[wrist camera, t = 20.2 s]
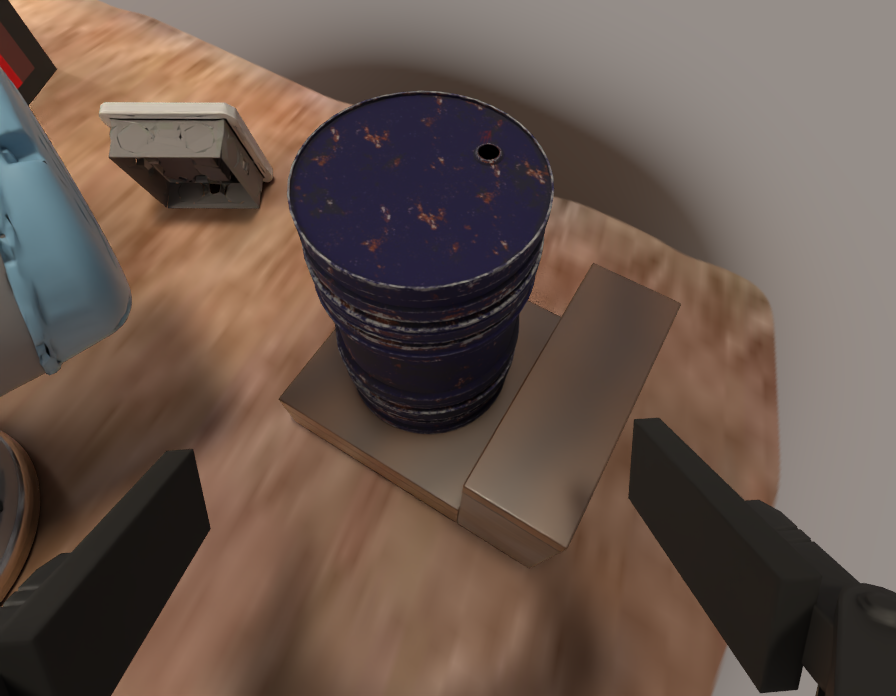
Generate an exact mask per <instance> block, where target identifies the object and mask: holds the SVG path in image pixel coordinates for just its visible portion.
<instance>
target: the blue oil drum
mask: <svg viewBox="0 0 896 696" xmlns="http://www.w3.org/2000/svg"><path fill="white" fill-rule="evenodd" d="M553 194H554V184H553V175H552V171H551V167H550V164H549V161H548V159H547V157H546V155H545V153H544V151H543V149H542V147H541V146H540V144H539V143H538V142H537V140H536V139H535V138H534V136H533V135H532V134H531V133H530V132H529V131H528V130H527V129H526V128H525V127H524V126H523V125H522V124H521V123H519V122H518V121H517V120H515V119H514V118H512V117H511V116H510V115H508V114H507V113H505V112H503V111H501V110H499V109H497V108H496V107H494V106H492V105H489V104H487V103H484V102H481V101H479V100H476V99H473V98H469V97H465V96H462V95H458V94H452V93H445V92H435V91H412V92H399V93H393V94H388V95H382V96H379V97H375V98H372V99H369V100H365V101H363V102H360V103H358V104H355V105H353V106H350V107H348V108H346V109H345V110H343V111H341V112H339V113H337V114H336V115H334V116H332V117H331V118H330V119H328V120H327V121H326V122H324V123H323V124H322V125H320V126H319V127H318V128H317V129H316V130H315V131H314V132H313V133H312V134H311V135H310V136H309V137H308V139H307V140H306V141H305V143H304V144H303V145H302V147H301V148H300V150H299V151H298V153H297V155H296V157H295V159H294V161H293V164H292V166H291V170H290V174H289V178H288V189H287V198H288V203H289V209H290V213H291V216H292V218H293V221H294V224H295V226H296V229H297V231H298V234H299V236H300V240H301V242H302V247H303V253H304V259H305V261H306V264H307V267H308V269H309V272H310V274H311V277H312V279H313V282H314V284H315V289H316V292H317V294H318V297H319V299H320V302H321V304H322V306H323V307H324V309H325V310H326V312H327V313H328V315H329V316H330V318H331V319H332V320H333V321H334V323H335V330H336V340H337V345H338V350H339V352H340V355H341V357H342V360H343V362H344V363H345V365H346V368H347V370H348V373H349V375H350V377H351V379H352V381H353V382H354V384H355V385H356V388H357V390H358V393H359V395H360V396H361V398H362V400H363V401H364V403H365V404H366V405H367V406H368V408H369V409H370V410H371V411H372V412H373V413H374V414H375V415H377V416H378V417H379V418H380V419H382V420H383V421H385V422H386V423H388V424H390V425H392V426H394V427H396V428H399V429H402V430H404V431H408V432H413V433H419V434H437V433H445V432H449V431H453V430H457V429H459V428H461V427H464V426H466V425H468V424H470V423H471V422H473V421H475V420H476V419H478V418H479V417H480V416H482V415H483V414H484V413H485V412H486V411H487V410H488V409H489V408H490V407H491V406H492V404H493V403H494V402H495V401H496V399H497V397H498V395H499V394H500V392H501V390H502V387H503V384H504V382H505V379H506V376H507V374H508V372H509V369H510V366H511V363H512V361H513V357H514V353H515V348H516V344H517V339H518V334H519V314H520V312H521V311H522V309H523V307H524V306H525V304H526V302H527V301H528V299H529V296H530V294H531V291H532V288H533V285H534V280H535V275H536V272H537V269H538V266H539V262H540V258H541V255H542V249H543V243H544V233H545V228H546V225H547V222H548V219H549V215H550V211H551V208H552V201H553Z"/></svg>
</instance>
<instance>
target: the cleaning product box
mask: <svg viewBox="0 0 896 696" xmlns="http://www.w3.org/2000/svg"><path fill="white" fill-rule="evenodd" d="M0 67H1V68H2V70H3V71H4V72H5V73H6V75H7V76H8V78H9V79H10V80H11V81H12V82H13V84H14V85H15V87H16V88H17V90H18V91H19V93H20V94H21V95H22V97H23V98H24V100H25V102H26V103H27V105H29V104H30V102H31V101H32V100H33V99H34V97H35V96H36V95H37V94H38V92H39V91H40V90H41V89H42V87H43V86H44V85H45V83H46V82H47V81H48V80H49V78H50V77H51V76H52V75H53V73H54V72H55V71H56V67H55V66H54V64H53V63H52V61H51V60H50V59H49V57H48V56H47V54H46V53H45V52H44V50H43V49H42V47H41V46H40V44H39V43H38V42H37V40H36V39H35V37H34V36H33V35H32V33H31V32H30V30H29V29H28V27H27V26H26V25H25V23H24V22H23V20H22V19H21V18H20V16H19V15H18V13H17V12H16V10H15V9H14V8H13V6H12V5H11V3H10V2H9V1H8V0H0Z"/></svg>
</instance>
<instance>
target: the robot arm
mask: <svg viewBox="0 0 896 696" xmlns="http://www.w3.org/2000/svg"><path fill="white" fill-rule="evenodd" d="M131 306H132V296H131V290H130V287H129V284H128V282H127V279H126V277H125V275H124V272H123V270H122V268H121V266H120V264H119V262H118V260H117V258H116V256H115V254H114V252H113V250H112V248H111V246H110V245H109V243H108V241H107V239H106V237H105V235H104V233H103V232H102V230H101V228H100V226H99V224H98V222H97V221H96V219H95V217H94V215H93V214H92V212H91V210H90V208H89V206H88V205H87V203H86V201H85V199H84V198H83V196H82V194H81V192H80V191H79V189H78V187H77V186H76V184H75V182H74V181H73V179H72V177H71V175H70V174H69V172H68V170H67V169H66V167H65V165H64V163H63V162H62V160H61V158H60V157H59V155H58V153H57V152H56V150H55V148H54V147H53V145H52V143H51V142H50V140H49V138H48V137H47V135H46V133H45V132H44V130H43V129H42V127H41V125H40V124H39V122H38V121H37V119H36V117H35V116H34V114H33V113H32V111H31V109H30V108H29V106H28V105H27V103H26V102H25V100H24V98H23V97H22V95H21V94H20V93H19V91H18V90H17V88H16V87H15V85H14V84H13V82H12V81H11V80H10V79H9V78H8V76H7V75H6V73H5V72H4V71H3V70H2V68H1V67H0V397H1V396H2V395H4V394H6V393H8V392H10V391H12V390H14V389H16V388H18V387H20V386H21V385H23V384H25V383H27V382H29V381H31V380H33V379H35V378H37V377H39V376H41V375H42V374H44V373H46V374H48V375H52V374H54V373H56V372H57V371H58V370H60V369H61V365H62V363H63V362H65V361H67V360H68V359H70V358H72V357H74V356H75V355H77V354H79V353H81V352H82V351H84V350H86V349H87V348H89V347H91V346H93V345H94V344H96V343H98V342H99V341H101V340H103V339H105V338H106V337H108V336H110V335H111V334H113V333H114V332H116V331H117V330H118V329H119V328H120V327H121V326H122V325H123V324H124V323H125V321H126V320H127V318H128V316H129V313H130V310H131ZM628 498H629V499H630V501H631V502H632V504H633V505H634V507H635V508H636V510H637V511H638V513H639V514H640V516H641V517H642V519H643V520H644V522H645V523H646V525H647V526H648V528H649V529H650V531H651V532H652V534H653V535H654V537H655V538H656V539H657V541H658V542H659V544H660V545H661V547H662V548H663V550H664V551H665V553H666V554H667V556H668V557H669V559H670V560H671V562H672V563H673V565H674V566H675V568H676V569H677V571H678V572H679V574H680V575H681V577H682V578H683V580H684V581H685V582H686V584H687V585H688V587H689V588H690V590H691V591H692V593H693V594H694V596H695V597H696V599H697V600H698V602H699V603H700V605H701V606H702V608H703V609H704V611H705V612H706V614H707V615H708V617H709V618H710V620H711V621H712V623H713V624H714V625H715V627H716V628H717V630H718V631H719V633H720V634H721V636H722V637H723V639H724V640H725V642H726V643H727V645H728V646H729V648H730V649H731V651H732V652H733V654H734V655H735V657H736V658H737V660H738V661H739V662H740V664H741V666H742V667H743V668H744V670H745V671H746V673H747V674H748V676H749V677H750V679H751V680H752V682H753V683H754V685H755V686H756V688H757V689H758V691H759V692H760V693H767V692H778V691H789V690H798V686H799V682H800V677H801V673H802V668H803V666H804V667H805V668H806V670H807V671H808V672H809V674H810V675H811V676H812V677H813V679H814V680H815V681H816V682H817V683H818V687H817V691H816V696H896V593H895V592H893V591H890V590H888V589H885V588H883V587H879V586H875V585H871V584H866V583H859V582H858V581H857V580H856V579H855V578H854V577H853V576H852V575H851V574H849V573H848V572H847V571H846V570H845V569H844V568H843V567H842V566H841V565H839V564H838V563H837V562H836V561H835V560H834V559H833V558H832V557H830V556H829V555H828V554H827V553H826V552H825V551H824V550H823V549H821V547H819V546H818V545H817V544H816V543H815V542H811V540H810V539H811V538H809V537H808V536H807V535H806V534H805V533H804V532H803V531H802V530H800V529H798V528H797V526H796V525H795V524H794V523H793V522H792V521H790V520H789V519H788V518H787V517H786V516H785V515H784V514H783V513H782V512H780V511H779V510H776V509H775V508H773V507H771V506H769V505H767V504H766V503H764V502H762V501H760V500H750V501H745V500H744V499H742V498H741V497H740V496H739V495H738V494H737V493H736V492H735V491H734V490H733V489H732V488H731V487H730V486H729V485H728V484H727V483H726V482H725V481H724V480H723V479H722V478H721V477H720V476H719V475H718V474H717V473H716V472H715V471H713V470H712V469H711V468H710V467H709V466H708V465H707V464H706V463H705V462H704V461H703V460H702V459H701V458H700V457H699V456H698V455H697V454H696V453H695V452H694V451H693V450H692V449H691V448H690V447H689V446H688V445H687V444H686V443H684V442H683V441H682V440H681V439H680V438H679V437H678V436H677V435H676V434H675V433H674V432H673V431H672V430H671V429H670V428H669V427H668V426H667V425H666V424H665V423H664V422H663V421H662V420H661V419H660V418H648V419H634V428H633V441H632V455H631V469H630V483H629V497H628ZM39 513H40V488H39V482H38V477H37V474H36V471H35V468H34V465H33V463H32V461H31V459H30V457H29V456H28V454H27V453H26V451H25V450H24V449H23V448H22V446H21V445H20V444H19V443H18V442H17V441H15V440H14V439H13V438H12V437H11V436H9V435H7V434H6V433H4V432H3V431H0V603H1V601H2V600H3V599H4V597H5V596H6V594H7V593H8V591H9V590H10V588H11V587H12V585H13V583H14V582H15V580H16V579H17V577H18V575H19V573H20V571H21V569H22V567H23V565H24V563H25V561H26V559H27V556H28V554H29V552H30V549H31V546H32V543H33V540H34V537H35V533H36V529H37V525H38V519H39ZM210 529H211V528H210V524H209V519H208V514H207V510H206V505H205V501H204V496H203V492H202V487H201V483H200V478H199V473H198V469H197V464H196V460H195V455H194V451H193V449H186V450H172V451H166V452H165V453H164V454H163V455H162V456H161V457H160V458H159V459H158V460H157V461H156V463H155V464H154V465H153V466H152V467H151V468H150V469H149V470H148V471H147V472H146V473H145V474H144V475H143V476H142V477H141V479H140V480H139V481H138V482H137V483H136V484H135V485H134V486H133V487H132V488H131V489H130V490H129V491H128V492H127V493H126V495H125V496H124V497H123V498H122V499H121V500H120V501H119V502H118V503H117V504H116V505H115V506H114V507H113V508H112V510H111V511H110V512H109V513H108V514H107V515H106V516H105V517H104V518H103V519H102V520H101V521H100V522H99V523H98V524H97V526H96V527H95V528H94V529H93V530H92V531H91V532H90V533H89V534H88V535H87V536H86V537H85V538H84V539H83V540H82V542H81V543H80V544H79V545H78V546H77V547H76V548H75V549H74V550H73V551H72V552H71V553H61V554H59V555H58V556H56V557H55V558H53V559H52V560H50V561H49V562H47V563H46V564H44V565H43V566H41V567H40V568H38V569H37V570H36V571H35V572H34V573H33V574H32V575H31V576H30V577H29V578H28V579H27V580H26V581H25V582H24V583H23V584H22V585H21V586H20V587H19V588H18V591H17V592H14V593H13V594H12V595H11V596H10V597H9V598H8V599H7V600H6V601H5V602H4V605H3V607H0V696H111V695H112V693H113V691H114V690H115V688H116V686H117V685H118V683H119V681H120V680H121V678H122V676H123V675H124V673H125V671H126V670H127V668H128V666H129V665H130V663H131V661H132V660H133V658H134V656H135V654H136V653H137V651H138V649H139V648H140V646H141V644H142V643H143V641H144V639H145V638H146V636H147V634H148V633H149V631H150V629H151V628H152V626H153V624H154V623H155V621H156V619H157V618H158V616H159V614H160V613H161V611H162V609H163V608H164V606H165V604H166V603H167V601H168V599H169V598H170V596H171V594H172V592H173V591H174V589H175V587H176V586H177V584H178V582H179V581H180V579H181V577H182V576H183V574H184V572H185V571H186V569H187V567H188V566H189V564H190V562H191V561H192V559H193V557H194V556H195V554H196V552H197V551H198V549H199V547H200V546H201V544H202V542H203V541H204V539H205V537H206V536H207V534H208V532H209V531H210Z"/></svg>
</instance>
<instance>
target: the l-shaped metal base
mask: <svg viewBox="0 0 896 696" xmlns="http://www.w3.org/2000/svg"><path fill="white" fill-rule="evenodd" d="M680 306H681V303H679V302H677V301H675V300H673V299H670V298H668V297H666V296H664V295H662V294H660V293H657V292H655V291H653V290H651V289H649V288H647V287H644V286H642V285H640V284H638V283H636V282H634V281H631V280H629V279H627V278H625V277H623V276H621V275H618V274H616V273H614V272H612V271H610V270H608V269H605V268H603V267H601V266H599V265H597V264H595V263H593V264H592V266H591V267H590V269H589V271H588V272H587V274H586V276H585V277H584V279H583V281H582V283H581V284H580V286H579V288H578V289H577V291H576V293H575V295H574V296H573V298H572V300H571V301H570V303H569V305H568V307H567V308H566V310H565V312H564V313H563V315H562V317H560V316H558V315H556V314H554V313H552V312H550V311H548V310H546V309H544V308H542V307H540V306H538V305H536V304H534V303H532V302H530V301H527V302H526V304H525V306H524V307H523V309H522V311H521V312H520V314H519V334H518V339H517V344H516V348H515V353H514V357H513V361H512V363H511V366H510V369H509V372H508V374H507V376H506V379H505V382H504V384H503V387H502V390H501V392H500V394H499V395H498V397H497V399H496V401H495V402H494V403H493V404H492V406H491V407H490V408H489V409H488V410H487V411H486V412H485V413H484V414H483V415H482V416H480V417H479V418H478V419H476V420H475V421H473V422H471V423H470V424H468V425H466V426H464V427H461V428H459V429H457V430H453V431H449V432H445V433H437V434H419V433H413V432H408V431H404V430H402V429H399V428H396V427H394V426H392V425H390V424H388V423H386V422H385V421H383V420H382V419H380V418H379V417H378V416H377V415H375V414H374V413H373V412H372V411H371V410H370V409H369V408H368V406H367V405H366V404H365V403H364V401H363V400H362V398H361V396H360V395H359V393H358V390H357V388H356V385H355V384H354V382H353V381H352V379H351V377H350V375H349V373H348V370H347V368H346V365H345V363H344V362H343V360H342V357H341V355H340V352H339V350H338V345H337V340H336V330H334V331H333V332H332V333H331V335H330V336H329V337H328V338H327V340H326V341H325V342H324V343H323V345H322V346H321V347H320V348H319V350H318V351H317V352H316V353H315V354H314V356H313V357H312V358H311V359H310V361H309V362H308V363H307V364H306V366H305V367H304V368H303V369H302V370H301V372H300V373H299V374H298V375H297V377H296V378H295V379H294V380H293V382H292V383H291V384H290V385H289V386H288V388H287V389H286V390H285V391H284V393H283V394H282V395H281V396H280V398H279V400H280V402H281V403H282V404H283V406H284V407H285V408H286V409H287V411H288V412H289V413H290V415H291V416H292V417H293V419H294V420H295V421H296V422H297V423H299V424H301V425H302V426H304V427H305V428H307V429H309V430H310V431H312V432H313V433H315V434H317V435H318V436H320V437H321V438H323V439H324V440H326V441H328V442H329V443H331V444H332V445H334V446H336V447H337V448H339V449H340V450H342V451H344V452H345V453H347V454H348V455H350V456H351V457H353V458H355V459H356V460H358V461H359V462H361V463H363V464H364V465H366V466H367V467H369V468H371V469H372V470H374V471H375V472H377V473H378V474H380V475H382V476H383V477H385V478H386V479H388V480H390V481H391V482H393V483H394V484H396V485H398V486H399V487H401V488H402V489H404V490H405V491H407V492H409V493H410V494H412V495H413V496H415V497H417V498H418V499H420V500H421V501H423V502H425V503H426V504H428V505H429V506H431V507H432V508H434V509H436V510H437V511H439V512H440V513H442V514H444V515H445V516H447V517H448V518H450V519H452V520H453V521H455V522H457V523H458V524H459V525H461V526H463V527H464V528H466V529H467V530H469V531H471V532H472V533H474V534H475V535H477V536H479V537H480V538H482V539H483V540H485V541H486V542H488V543H490V544H491V545H493V546H494V547H496V548H498V549H499V550H501V551H502V552H504V553H506V554H507V555H509V556H510V557H512V558H513V559H515V560H517V561H518V562H520V563H521V564H523V565H525V566H526V567H528V568H531V567H533V566H535V565H537V564H539V563H541V562H543V561H545V560H547V559H549V558H551V557H552V556H554V555H556V554H558V553H560V552H562V551H564V550H566V549H567V548H568V546H569V544H570V542H571V540H572V538H573V536H574V534H575V531H576V529H577V527H578V525H579V523H580V521H581V519H582V516H583V514H584V512H585V510H586V508H587V506H588V503H589V501H590V499H591V497H592V495H593V493H594V491H595V488H596V486H597V484H598V482H599V480H600V478H601V476H602V473H603V471H604V469H605V467H606V465H607V463H608V461H609V458H610V456H611V454H612V452H613V450H614V448H615V446H616V443H617V441H618V439H619V437H620V435H621V433H622V430H623V428H624V426H625V424H626V422H627V420H628V418H629V415H630V413H631V411H632V409H633V407H634V405H635V403H636V400H637V398H638V396H639V394H640V392H641V390H642V388H643V385H644V383H645V381H646V379H647V377H648V375H649V373H650V370H651V368H652V366H653V364H654V362H655V360H656V358H657V355H658V353H659V351H660V349H661V347H662V345H663V342H664V340H665V338H666V336H667V334H668V332H669V330H670V327H671V325H672V323H673V321H674V319H675V317H676V315H677V312H678V310H679V308H680Z"/></svg>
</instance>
